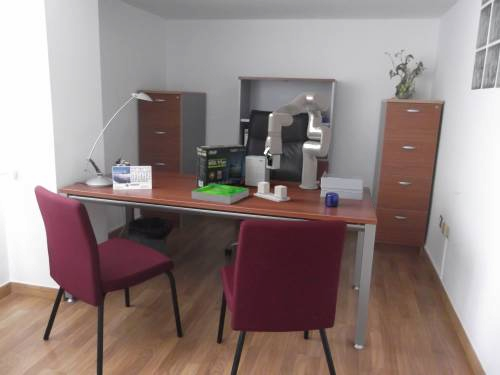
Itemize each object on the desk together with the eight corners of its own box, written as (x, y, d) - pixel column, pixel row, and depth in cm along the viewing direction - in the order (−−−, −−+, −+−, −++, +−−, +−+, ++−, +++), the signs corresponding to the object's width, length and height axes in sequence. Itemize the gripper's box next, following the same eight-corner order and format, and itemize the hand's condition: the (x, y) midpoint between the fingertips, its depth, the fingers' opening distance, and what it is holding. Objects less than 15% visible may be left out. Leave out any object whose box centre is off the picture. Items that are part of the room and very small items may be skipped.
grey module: (272, 166, 248) (272, 153, 247) (279, 168, 244) (280, 154, 243) (266, 167, 245) (266, 154, 243) (273, 169, 241) (274, 155, 239)
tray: (191, 199, 239) (191, 191, 238) (212, 191, 261) (212, 183, 260) (229, 205, 229) (230, 196, 228) (248, 196, 251) (248, 188, 250)
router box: (205, 189, 263) (206, 148, 258) (195, 186, 271) (195, 146, 266) (246, 183, 288) (247, 145, 282) (235, 180, 296) (236, 143, 290)
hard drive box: (269, 185, 282) (270, 157, 278) (264, 187, 275) (265, 158, 271) (249, 183, 289) (250, 155, 285) (244, 184, 282) (245, 156, 278)
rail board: (264, 193, 259) (265, 180, 257) (290, 199, 244) (290, 186, 242) (253, 195, 252) (254, 182, 250) (278, 202, 237) (279, 188, 235)
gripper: (279, 133, 249) (278, 163, 253) (259, 134, 237) (258, 165, 241) (288, 134, 244) (287, 165, 247) (268, 135, 232) (267, 167, 236)
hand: (273, 165), depth 244 cm, fingers closed on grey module, 5 cm apart
